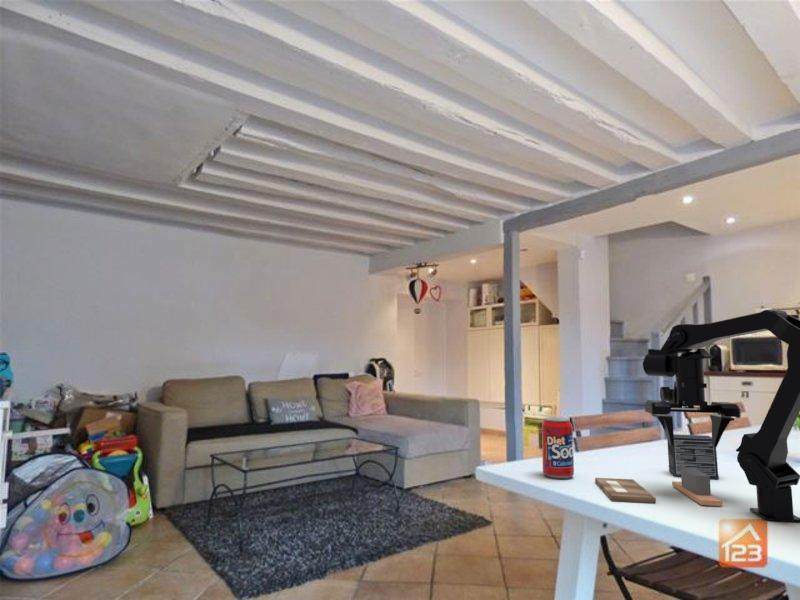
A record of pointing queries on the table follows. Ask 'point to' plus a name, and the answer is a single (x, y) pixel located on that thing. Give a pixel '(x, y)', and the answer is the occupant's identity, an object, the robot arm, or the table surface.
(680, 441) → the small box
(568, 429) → the soda can
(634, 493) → the brown flat board
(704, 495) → the stub
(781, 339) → the robot arm
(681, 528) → the table surface
